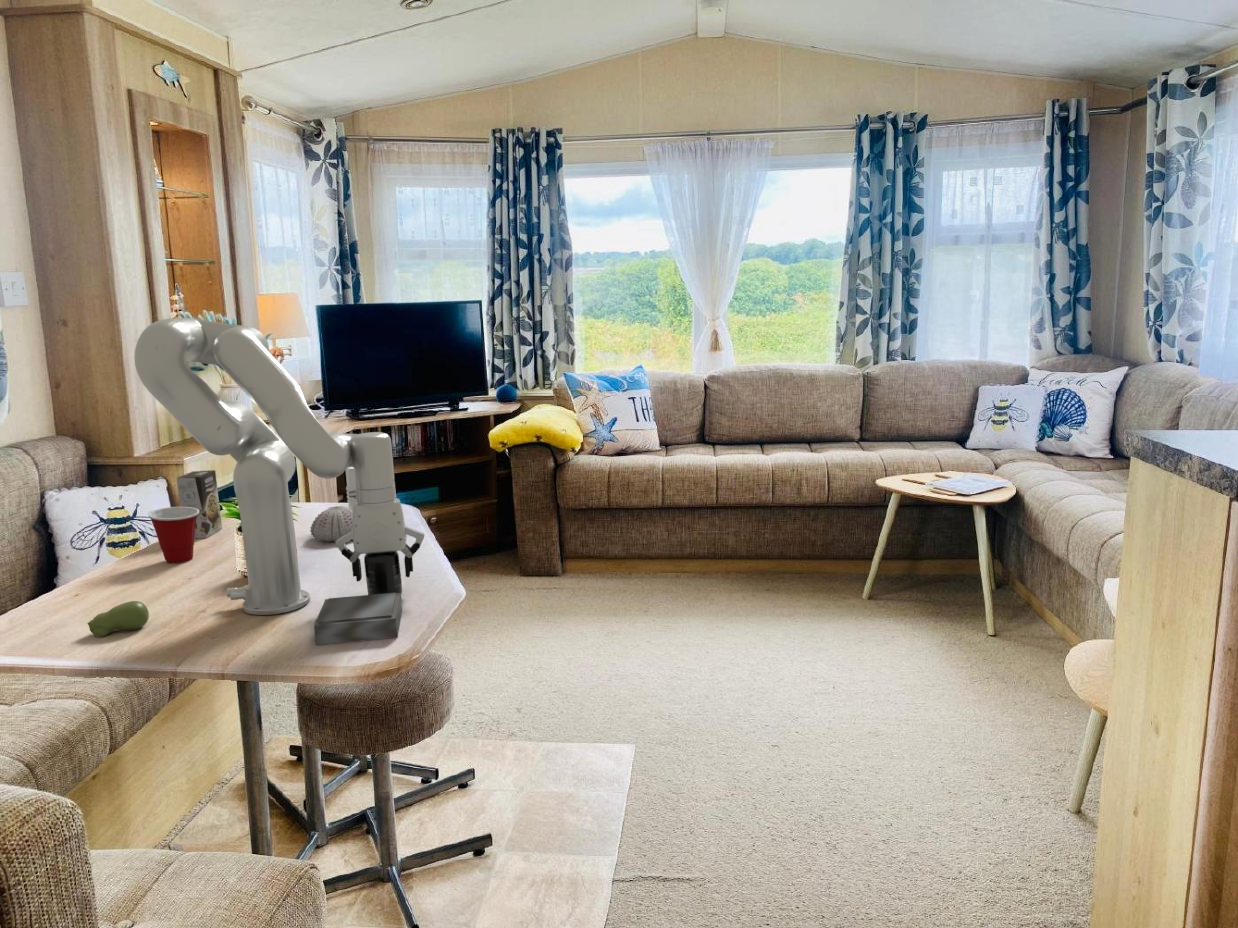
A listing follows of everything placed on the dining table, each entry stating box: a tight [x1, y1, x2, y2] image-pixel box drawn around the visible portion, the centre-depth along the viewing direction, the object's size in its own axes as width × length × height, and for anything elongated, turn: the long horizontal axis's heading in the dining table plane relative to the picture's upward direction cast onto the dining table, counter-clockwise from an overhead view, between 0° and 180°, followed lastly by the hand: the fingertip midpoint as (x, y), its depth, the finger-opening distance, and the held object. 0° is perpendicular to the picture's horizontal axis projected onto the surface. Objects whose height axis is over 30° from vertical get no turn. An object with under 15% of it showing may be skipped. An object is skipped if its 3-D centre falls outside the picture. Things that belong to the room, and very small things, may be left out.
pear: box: [86, 600, 150, 638], centre depth 170 cm, size 6×5×10 cm
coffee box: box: [176, 469, 223, 539], centre depth 236 cm, size 9×6×16 cm
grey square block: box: [313, 593, 403, 646], centre depth 167 cm, size 14×14×4 cm
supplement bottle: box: [363, 551, 403, 595], centre depth 183 cm, size 7×7×12 cm
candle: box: [345, 467, 357, 510], centre depth 244 cm, size 7×7×15 cm
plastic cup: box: [148, 506, 199, 565], centre depth 213 cm, size 11×11×12 cm
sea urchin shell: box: [309, 505, 353, 543], centre depth 229 cm, size 13×14×8 cm
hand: (383, 577), depth 184 cm, fingers open, 9 cm apart
